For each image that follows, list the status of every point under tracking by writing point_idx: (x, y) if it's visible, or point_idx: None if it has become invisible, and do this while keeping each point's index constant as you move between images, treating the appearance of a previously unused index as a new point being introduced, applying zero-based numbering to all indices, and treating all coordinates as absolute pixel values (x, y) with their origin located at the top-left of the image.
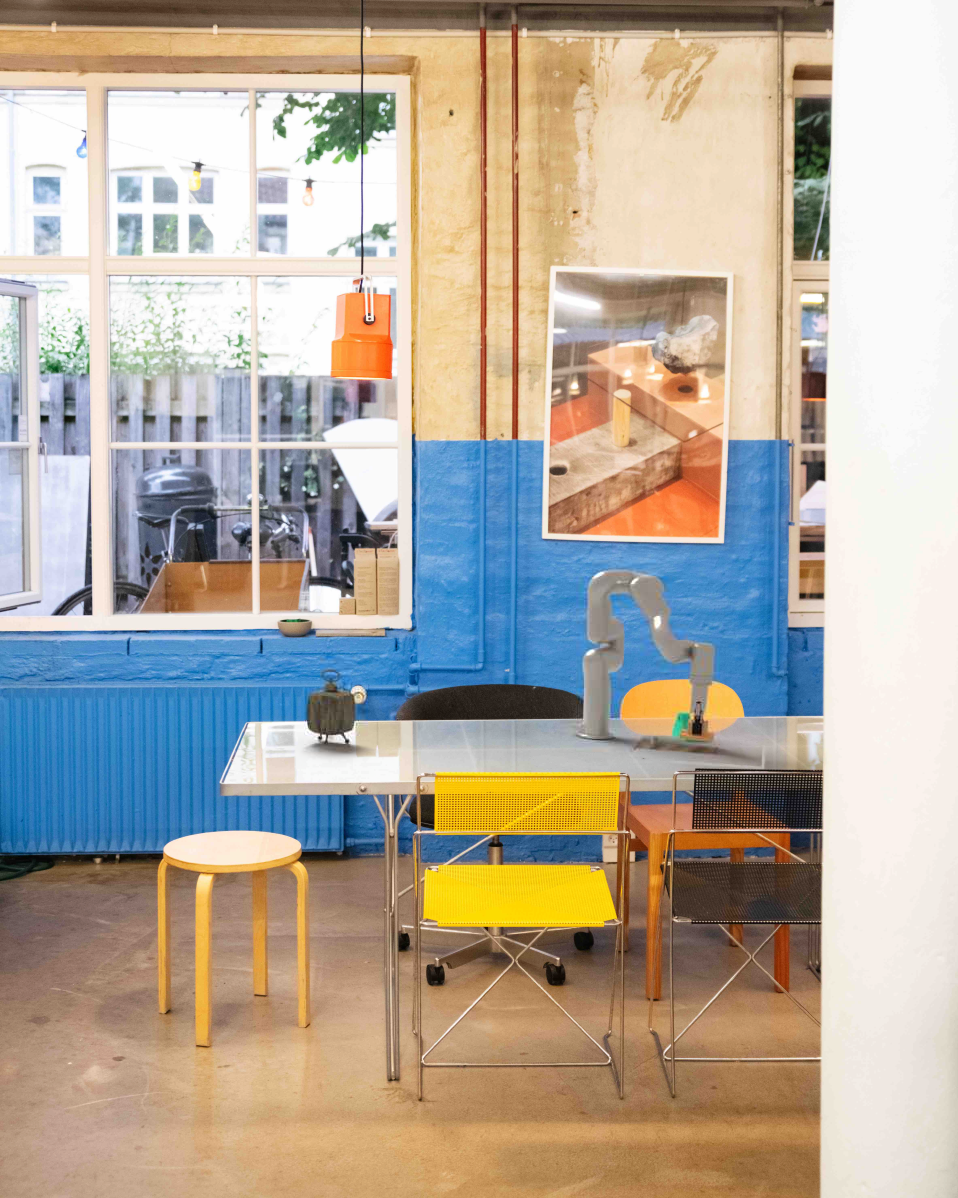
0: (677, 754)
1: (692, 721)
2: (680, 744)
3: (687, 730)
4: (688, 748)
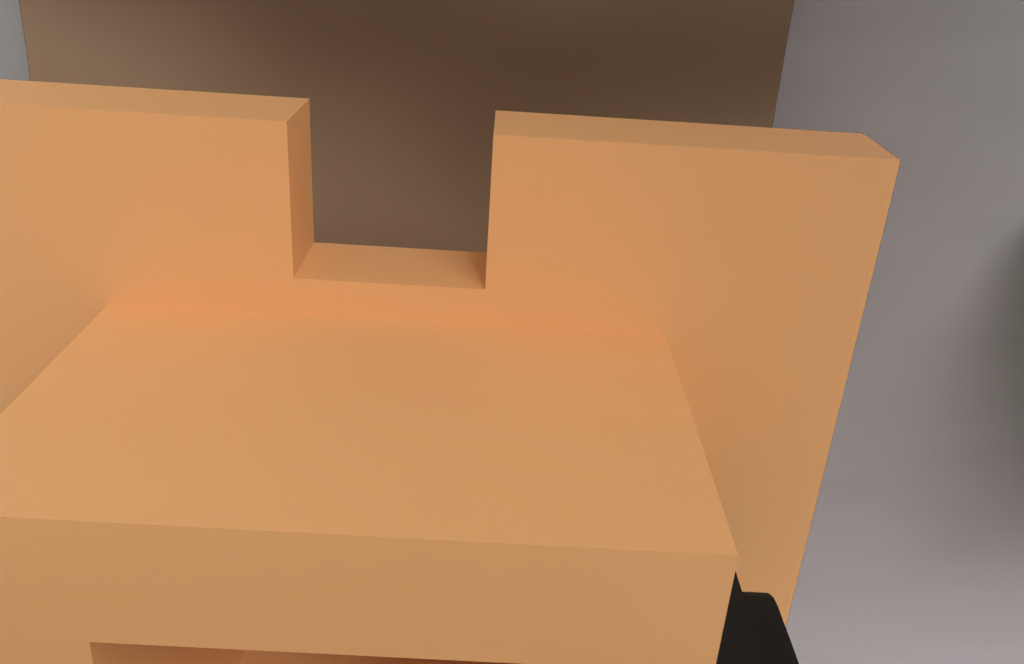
0: (10, 3)
1: (567, 630)
2: (769, 62)
3: (64, 364)
4: (382, 227)
